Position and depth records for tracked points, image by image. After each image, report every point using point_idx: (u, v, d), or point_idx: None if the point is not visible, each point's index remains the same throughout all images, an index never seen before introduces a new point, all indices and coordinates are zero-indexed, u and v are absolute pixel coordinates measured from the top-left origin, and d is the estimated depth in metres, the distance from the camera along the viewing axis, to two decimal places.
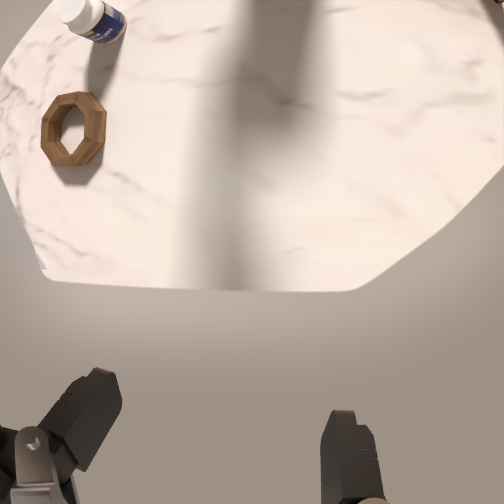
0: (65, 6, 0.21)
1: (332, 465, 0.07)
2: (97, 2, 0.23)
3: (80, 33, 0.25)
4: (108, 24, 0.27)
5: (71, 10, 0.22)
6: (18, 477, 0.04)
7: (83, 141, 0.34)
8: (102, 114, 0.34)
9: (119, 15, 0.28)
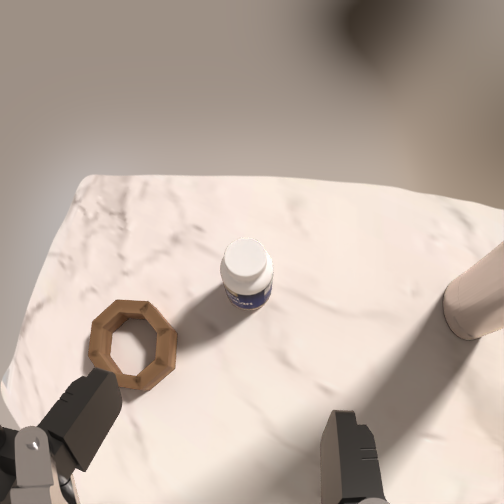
0: (242, 242, 0.29)
1: (332, 465, 0.07)
2: (269, 272, 0.30)
3: (225, 285, 0.30)
4: (254, 300, 0.32)
5: (243, 257, 0.28)
6: (18, 477, 0.04)
7: (133, 377, 0.30)
8: (170, 370, 0.32)
9: (269, 293, 0.34)
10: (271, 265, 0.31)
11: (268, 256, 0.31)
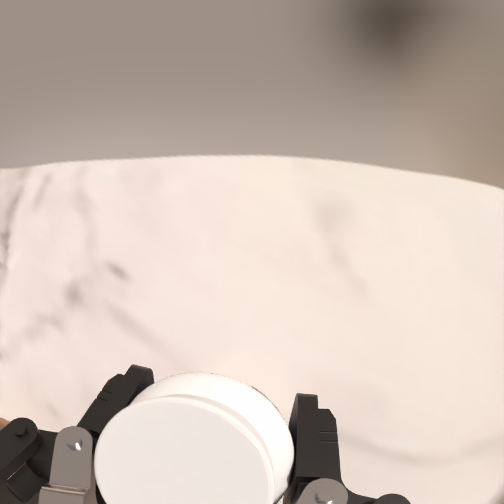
0: (161, 422, 0.05)
1: None
2: (281, 484, 0.07)
3: None
4: None
5: (168, 487, 0.05)
6: (52, 476, 0.05)
7: None
8: None
9: None
10: (288, 459, 0.07)
11: (278, 428, 0.07)
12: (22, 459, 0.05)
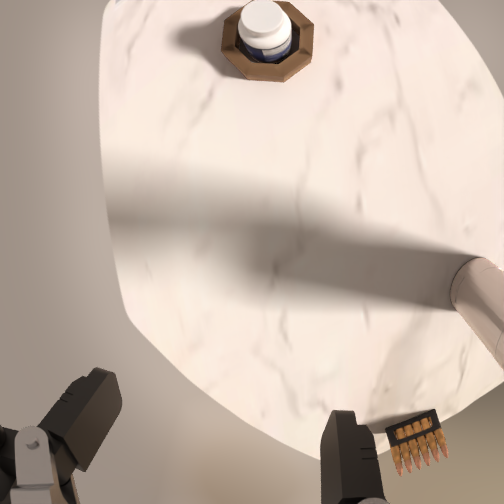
0: (270, 5, 0.21)
1: (332, 465, 0.07)
2: (274, 41, 0.25)
3: None
4: (253, 51, 0.28)
5: (259, 14, 0.22)
6: (18, 477, 0.04)
7: (248, 62, 0.29)
8: (279, 80, 0.31)
9: (272, 58, 0.29)
10: (281, 38, 0.25)
11: (286, 31, 0.24)
12: None
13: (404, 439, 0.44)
